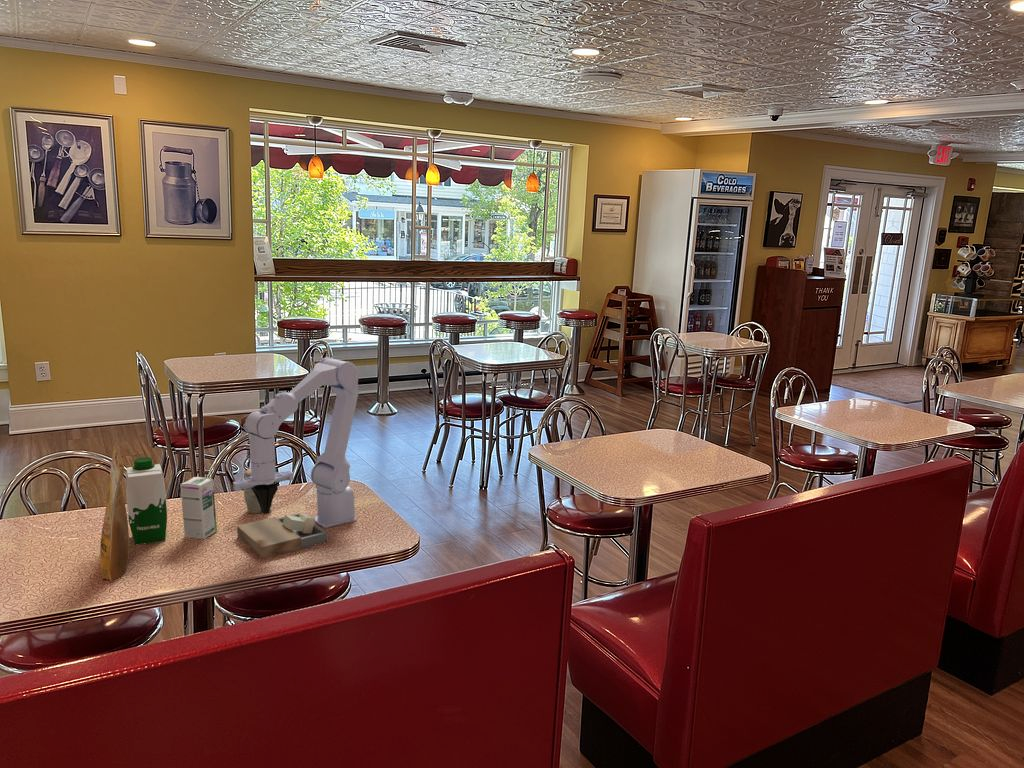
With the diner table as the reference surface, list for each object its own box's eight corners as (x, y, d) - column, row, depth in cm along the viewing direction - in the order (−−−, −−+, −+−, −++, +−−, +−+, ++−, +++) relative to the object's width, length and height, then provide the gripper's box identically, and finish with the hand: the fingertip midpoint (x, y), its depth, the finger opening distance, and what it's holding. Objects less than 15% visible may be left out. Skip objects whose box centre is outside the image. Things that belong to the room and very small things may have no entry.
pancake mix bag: (136, 548, 189) (127, 438, 183) (132, 582, 172) (122, 462, 166) (105, 552, 186) (95, 440, 180) (98, 587, 169) (87, 465, 163)
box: (300, 521, 207) (300, 513, 207) (327, 541, 195) (327, 532, 195) (275, 527, 203) (275, 518, 203) (301, 548, 191) (300, 539, 191)
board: (275, 527, 203) (275, 517, 202) (301, 548, 191) (300, 537, 190) (237, 536, 197) (237, 525, 196) (261, 558, 185) (261, 547, 184)
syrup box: (204, 539, 195) (201, 485, 191) (183, 537, 196) (179, 483, 193) (217, 531, 200) (214, 478, 197) (196, 528, 201) (193, 475, 198)
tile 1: (296, 526, 200) (299, 517, 200) (302, 531, 197) (305, 521, 197) (282, 524, 197) (285, 514, 198) (288, 529, 194) (291, 519, 195)
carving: (241, 510, 215) (239, 468, 212) (268, 504, 219) (266, 464, 216) (249, 517, 210) (247, 475, 207) (276, 511, 214) (274, 470, 212)
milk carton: (167, 528, 201) (161, 455, 196) (169, 541, 193) (164, 465, 189) (129, 534, 197) (123, 459, 192) (130, 547, 189) (124, 469, 185)
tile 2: (296, 528, 200) (304, 528, 202) (302, 533, 197) (311, 533, 199) (300, 513, 200) (308, 513, 202) (306, 518, 197) (315, 518, 199)
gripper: (239, 470, 181) (242, 524, 184) (297, 459, 190) (299, 510, 193) (228, 462, 187) (231, 515, 190) (286, 451, 196) (288, 502, 199)
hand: (265, 512), depth 192 cm, fingers closed
